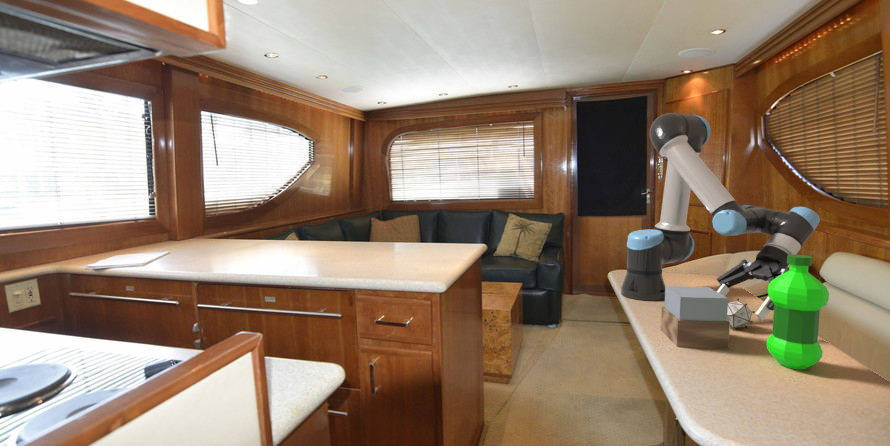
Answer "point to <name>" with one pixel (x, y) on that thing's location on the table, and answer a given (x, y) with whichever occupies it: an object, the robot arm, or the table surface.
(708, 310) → the tower top
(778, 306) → the plastic bottle
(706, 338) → the tower base
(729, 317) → the game die
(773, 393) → the table surface
